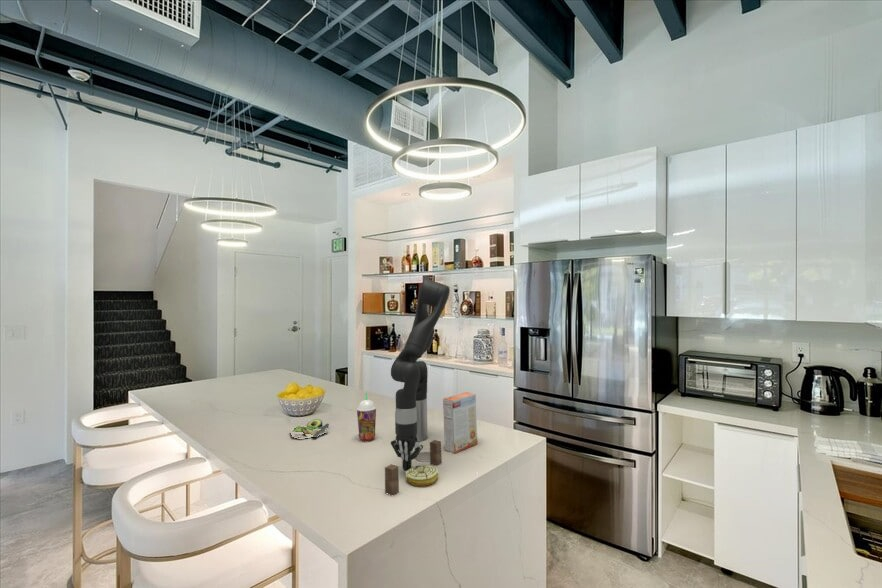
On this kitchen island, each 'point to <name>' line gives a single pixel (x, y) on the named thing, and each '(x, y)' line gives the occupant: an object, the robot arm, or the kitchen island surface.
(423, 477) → the decorated donut
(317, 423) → the salad plate
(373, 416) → the smoothie
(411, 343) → the robot arm
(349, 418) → the kitchen island surface
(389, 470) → the posts
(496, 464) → the kitchen island surface
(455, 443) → the cracker box
